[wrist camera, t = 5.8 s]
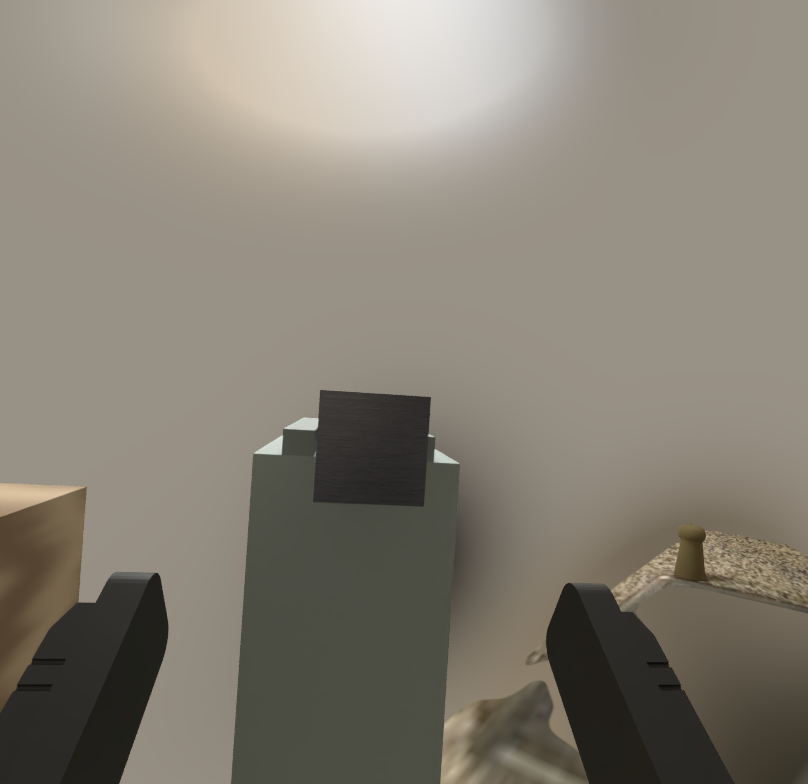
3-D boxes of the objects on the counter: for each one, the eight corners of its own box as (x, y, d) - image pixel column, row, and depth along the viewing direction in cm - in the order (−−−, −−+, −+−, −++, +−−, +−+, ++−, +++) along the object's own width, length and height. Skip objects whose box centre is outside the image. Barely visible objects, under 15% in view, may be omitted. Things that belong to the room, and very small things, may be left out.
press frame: (231, 983, 30) (270, 414, 30) (403, 972, 31) (437, 424, 32) (157, 1370, 18) (221, 427, 19) (439, 1330, 19) (492, 442, 20)
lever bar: (333, 432, 33) (336, 393, 33) (372, 434, 34) (374, 396, 34) (313, 502, 12) (320, 390, 12) (423, 506, 12) (430, 397, 12)
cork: (671, 575, 112) (674, 524, 112) (676, 569, 117) (679, 520, 117) (703, 583, 108) (706, 530, 108) (707, 576, 113) (710, 526, 113)
